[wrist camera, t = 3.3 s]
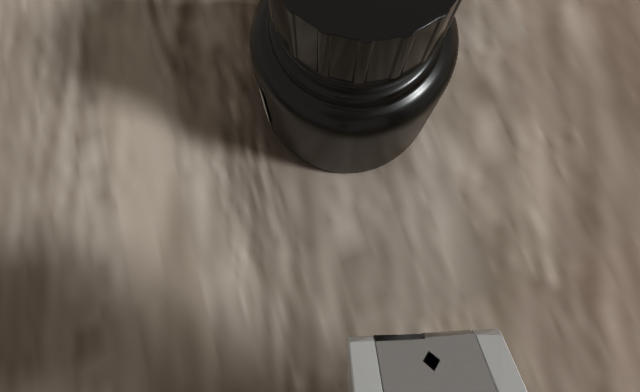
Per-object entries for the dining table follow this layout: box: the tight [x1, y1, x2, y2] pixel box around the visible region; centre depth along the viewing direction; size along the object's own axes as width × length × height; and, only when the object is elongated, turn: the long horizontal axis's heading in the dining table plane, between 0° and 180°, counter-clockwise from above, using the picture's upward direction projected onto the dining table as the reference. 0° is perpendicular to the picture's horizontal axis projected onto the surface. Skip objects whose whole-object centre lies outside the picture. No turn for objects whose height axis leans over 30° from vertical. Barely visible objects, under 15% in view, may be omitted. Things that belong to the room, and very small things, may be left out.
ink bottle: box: [250, 0, 462, 173], centre depth 22 cm, size 10×9×12 cm
